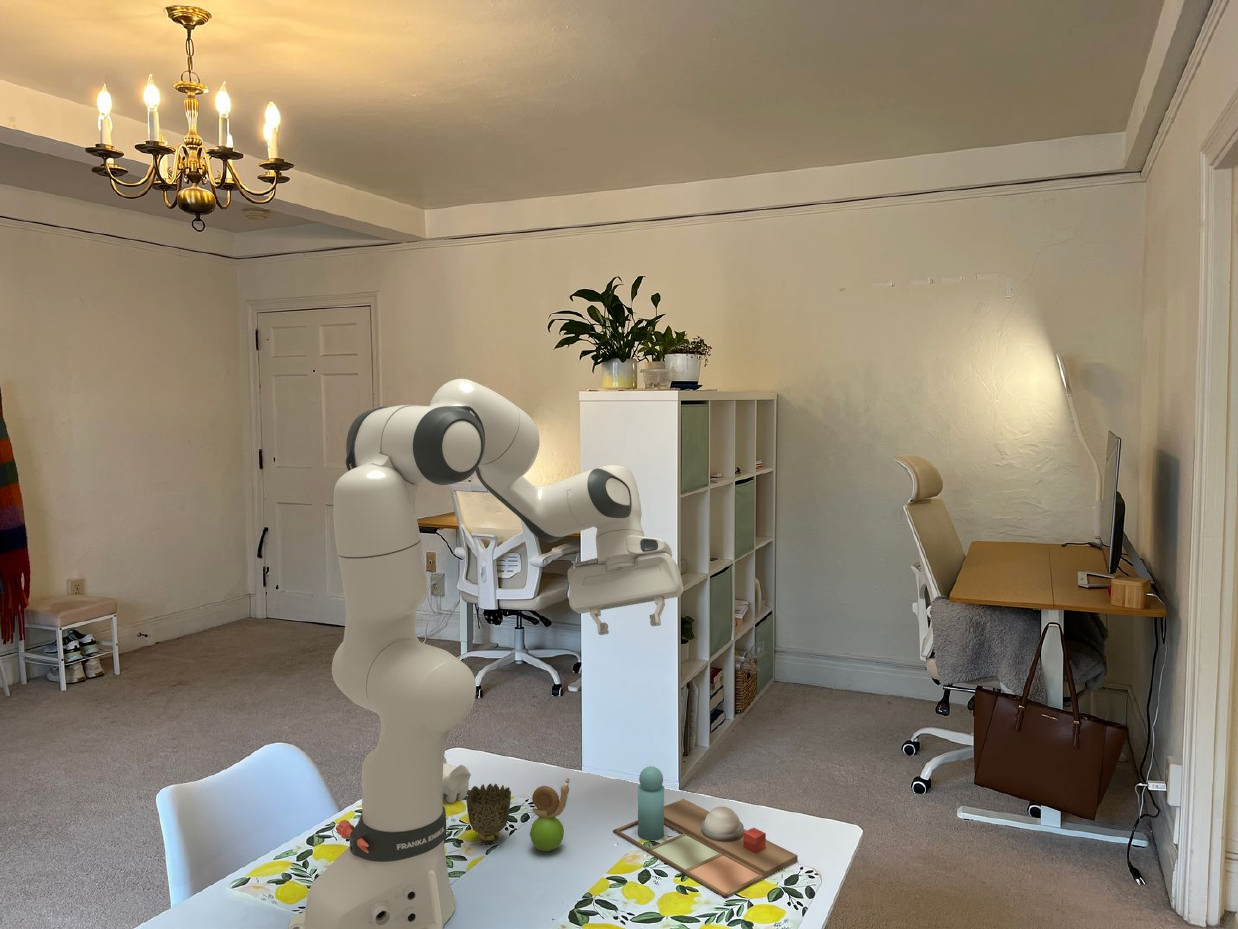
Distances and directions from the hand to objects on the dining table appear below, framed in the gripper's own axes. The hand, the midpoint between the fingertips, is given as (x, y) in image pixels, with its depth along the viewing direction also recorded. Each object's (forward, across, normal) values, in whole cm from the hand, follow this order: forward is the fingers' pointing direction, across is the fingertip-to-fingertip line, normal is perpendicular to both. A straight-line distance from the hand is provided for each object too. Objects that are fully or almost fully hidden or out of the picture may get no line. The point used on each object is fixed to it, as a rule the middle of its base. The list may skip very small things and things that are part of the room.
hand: (629, 629), depth 149 cm
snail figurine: (+33, -17, +1) cm, 38 cm away
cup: (+31, -28, +1) cm, 41 cm away
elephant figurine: (+23, -40, +11) cm, 48 cm away
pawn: (+32, -2, +10) cm, 34 cm away
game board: (+36, +6, +9) cm, 38 cm away
